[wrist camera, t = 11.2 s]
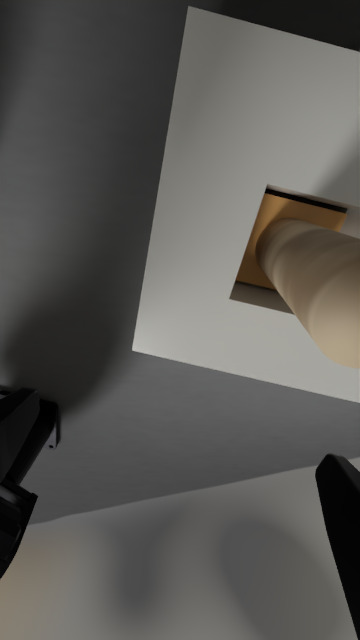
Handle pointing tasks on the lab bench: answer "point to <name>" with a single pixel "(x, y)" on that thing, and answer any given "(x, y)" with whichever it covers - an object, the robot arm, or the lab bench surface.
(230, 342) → the socket block
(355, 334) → the wooden peg
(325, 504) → the robot arm
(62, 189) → the lab bench surface
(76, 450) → the lab bench surface
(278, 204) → the plunger plate
